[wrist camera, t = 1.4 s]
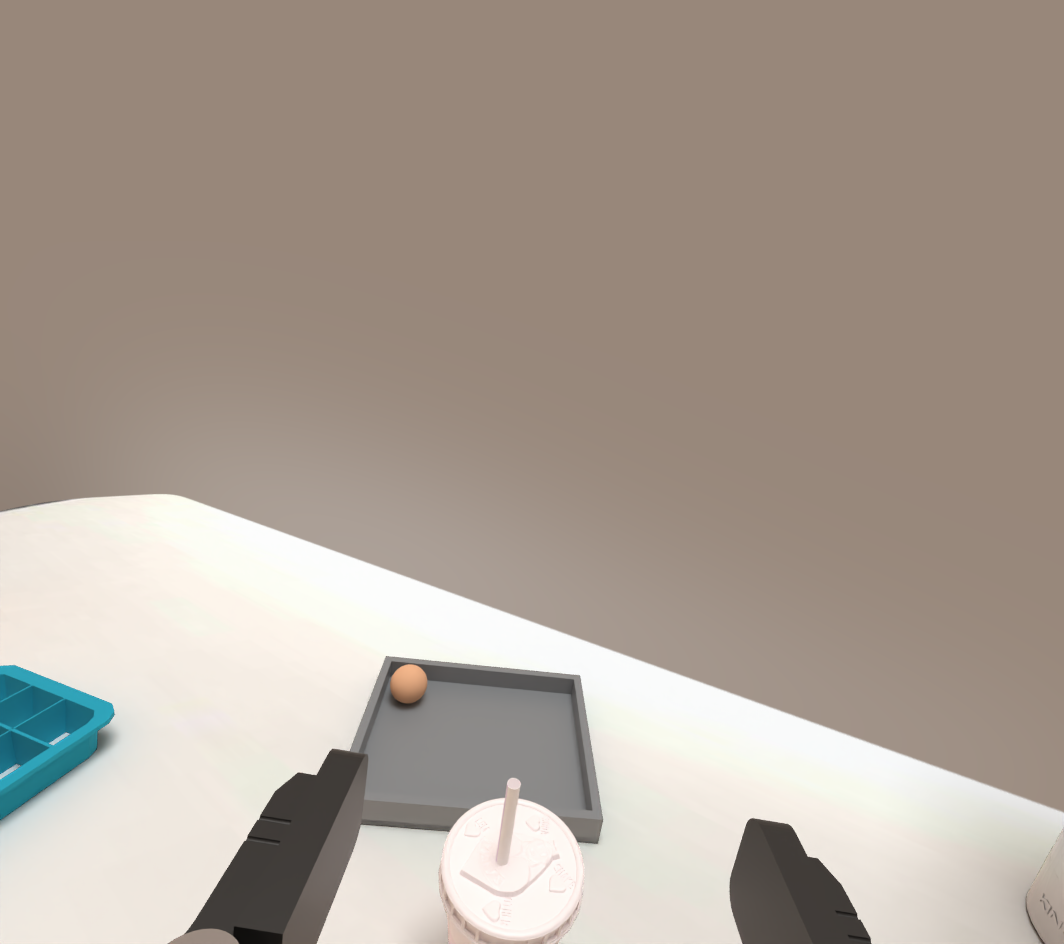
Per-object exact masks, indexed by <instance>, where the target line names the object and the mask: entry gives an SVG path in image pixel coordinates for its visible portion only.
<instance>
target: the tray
mask: <svg viewBox="0 0 1064 944" xmlns="http://www.w3.org/2000/svg"><path fill="white" fill-rule="evenodd" d="M408 664H412V665H416V666H418V667H420V668H421V669H422V670H423V671H424V672H425V674H426V677H427V688H426V691H425V693H424V695H423V696H422V697H421V698H420V699H419V700H417V701H416V702H413V703H401V702H399V701H398V700H396V699H395V698H394V697H393V695H392V693H391V690H390V681H391V678H392V676H393V674H394V673H395V671H396V670H397V669H398V668H400V667H402V666H404V665H408ZM350 751H351V752H357V753H363V754H368V769H367V778H366V787H365V796H364V805H363V814H362V820H361V824H369V825H381V826H393V827H406V828H418V829H430V830H442V831H450V830H451V829H452V827H453V826H454V824H455V823H456V822H457V820H458V819H459V818H460V817H461V816H462V815H464V814H465V813H466V812H467V811H469V810H470V809H471V808H473V807H475V806H477V805H479V804H481V803H483V802H486V801H489V800H493V799H499V798H505V794H506V788H507V782H508V780H509V779H511V778H516V779H518V780H519V781H520V783H521V785H520V791H519V798H518V799H524V800H528V801H531V802H534V803H536V804H539V805H541V806H543V807H545V808H546V809H548V810H550V811H551V812H552V813H554V814H555V815H556V816H558V817H559V818H560V819H561V820H562V821H563V822H564V823H565V824H566V826H567V827H568V828H569V829H570V831H571V832H572V834H573V835H574V837H575V839H576V841H577V842H589V843H598V841H599V836H600V832H601V827H602V823H603V816H602V810H601V804H600V797H599V791H598V785H597V779H596V772H595V766H594V760H593V754H592V747H591V741H590V735H589V729H588V722H587V716H586V710H585V704H584V697H583V691H582V685H581V679H580V675H570V674H560V673H550V672H540V671H530V670H520V669H510V668H500V667H490V666H480V665H470V664H460V663H450V662H439V661H429V660H419V659H409V658H399V657H389V656H386V658H385V660H384V663H383V666H382V668H381V671H380V673H379V676H378V679H377V681H376V684H375V686H374V689H373V692H372V694H371V697H370V699H369V702H368V705H367V707H366V710H365V713H364V715H363V718H362V720H361V723H360V726H359V728H358V731H357V733H356V736H355V739H354V741H353V744H352V746H351V749H350Z"/></svg>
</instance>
